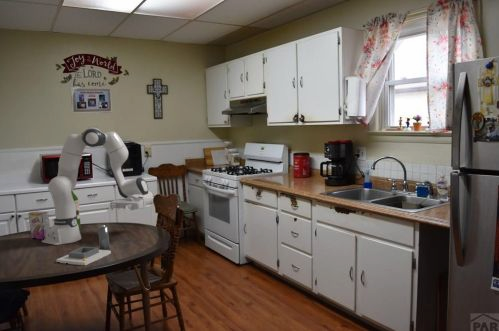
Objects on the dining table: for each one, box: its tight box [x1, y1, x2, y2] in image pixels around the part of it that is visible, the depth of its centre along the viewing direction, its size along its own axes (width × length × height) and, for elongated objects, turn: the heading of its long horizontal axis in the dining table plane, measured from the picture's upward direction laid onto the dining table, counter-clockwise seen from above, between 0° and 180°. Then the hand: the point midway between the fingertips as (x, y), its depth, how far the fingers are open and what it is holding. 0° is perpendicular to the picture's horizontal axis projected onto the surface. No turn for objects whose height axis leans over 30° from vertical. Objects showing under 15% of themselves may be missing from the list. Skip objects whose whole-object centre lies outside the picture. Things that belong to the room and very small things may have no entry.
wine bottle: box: [71, 190, 82, 230], centre depth 260 cm, size 9×9×32 cm
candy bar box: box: [27, 210, 51, 240], centre depth 242 cm, size 11×5×16 cm, turn 71°
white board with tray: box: [55, 246, 112, 266], centre depth 201 cm, size 18×18×4 cm
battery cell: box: [97, 224, 111, 250], centre depth 215 cm, size 5×5×13 cm
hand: (118, 207), depth 225 cm, fingers open, 8 cm apart
